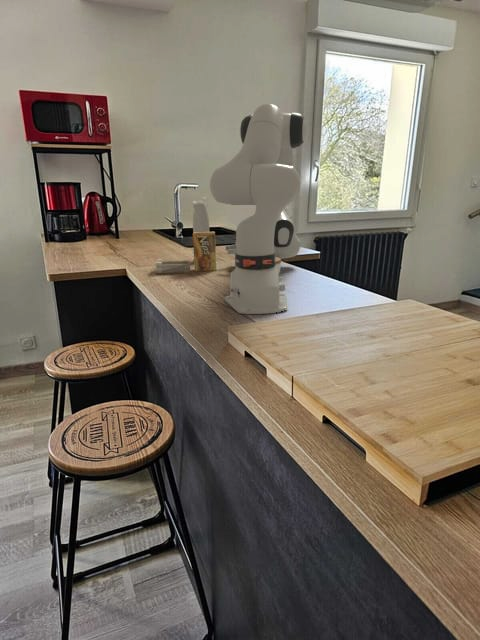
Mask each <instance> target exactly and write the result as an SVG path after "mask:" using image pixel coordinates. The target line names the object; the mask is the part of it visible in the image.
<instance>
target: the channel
mask: <svg viewBox="0 0 480 640" xmlns="http://www.w3.org/2000/svg"><path fill="white" fill-rule="evenodd" d="M155 265H156V275H157V276H158V275H159V276H162V275H161V274H164V275H182V273H185V274H191V260H190V259H189V260H188V259H185V260H170V261H169V260H168V261H167V260H165V261H163V259H162V258H158V259H156V262H155Z"/></svg>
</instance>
